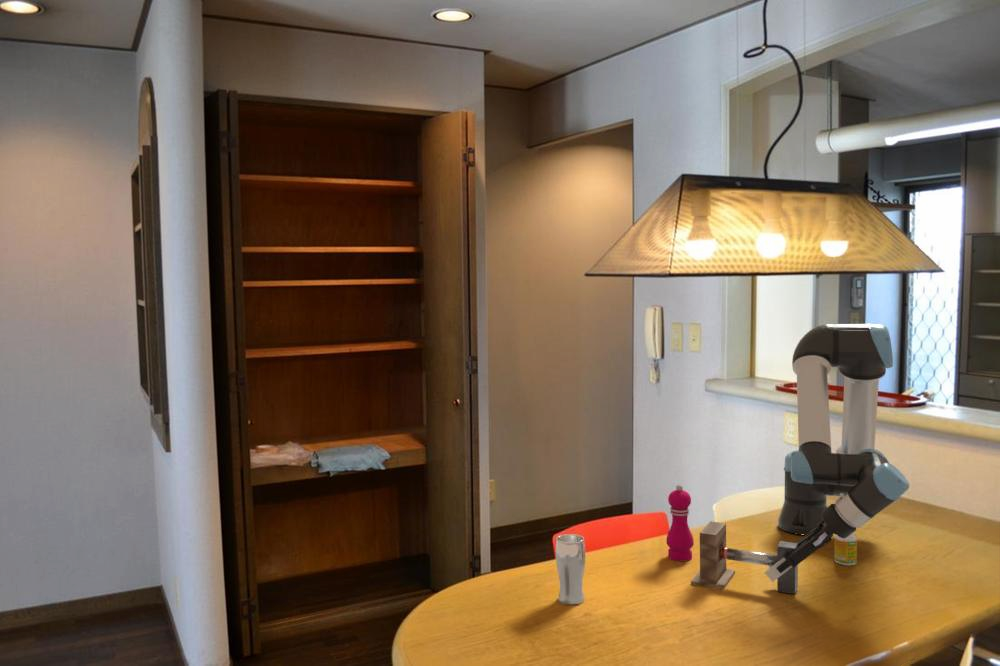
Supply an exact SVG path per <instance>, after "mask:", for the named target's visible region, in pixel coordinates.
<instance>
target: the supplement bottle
mask: <svg viewBox="0 0 1000 666" xmlns="http://www.w3.org/2000/svg"><path fill="white" fill-rule="evenodd" d="M833 539H834V545H833V546H834V552H833V553H834V556H833V557H834V558H833V559H834V562H835V563H837V564H838V563H839V564H838V565H841V564H842V565H843V566H854V565H856V564H857V562H858V537H857V535H856V534H855V531H854V532H853V533H852V534H850V535H849V536H848V537H847V538H841V537H839V536H838V535H836V534H834V538H833ZM842 565H841V566H842Z"/></svg>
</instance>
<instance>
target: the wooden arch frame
mask: <svg viewBox="0 0 1000 666" xmlns="http://www.w3.org/2000/svg"><path fill="white" fill-rule="evenodd" d="M722 547H725V548H727V523H725V522H719V521H712V520H710V521H709V522H708V523H707V524H706V526H704V527H703V529H702V530H701V531H700V532H699V570H698V572H697V573H696V574H695V576H694V577H693V578H692V579H691V580H690V585H693V586H696V587H697V586H698V587H705V588H709V589H715V590H721V591H724V590H725V589H726V587H727V586H728V584H729V583H730V582H731V580H732V578H733V577H734V575H735V574H736V569H732V568H731V569H730V568H727V559H722V558H721V549H722Z"/></svg>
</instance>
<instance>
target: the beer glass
mask: <svg viewBox="0 0 1000 666" xmlns="http://www.w3.org/2000/svg"><path fill="white" fill-rule="evenodd" d="M555 543H556V544H555V563H556V569H557V574H558V580H559V594H558V601H559V602H560V603H561V604H562V603H564V604H563V605H566V604H570V605H569V606H576V605H575V604H578V605H580V603H581V604H583V603H584V602H583V601H585V595H584V591H583V580H584V573H585V568H586V566H585V565H586V546H585V537H584V536H582V535H580V534H576V533H575V534H574V533H565V534H560V535H558V536H556V541H555ZM582 602H583V603H582ZM573 604H574V605H573Z"/></svg>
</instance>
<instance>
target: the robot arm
mask: <svg viewBox="0 0 1000 666" xmlns="http://www.w3.org/2000/svg"><path fill="white" fill-rule="evenodd" d="M891 341H892V340H891V335H890V332H889V328H888V327H887V326H886V325H884V324H877V323H870V322H868V323H838V324H837V323H823V324H820V325H817V326H815V327H813V328H812V329H810V330H809V331H807V332H806V333H805V334H804V335H803V337H802V338H801V339H800V340H799V342H798V343H797V345H796V347H795V349H794V351H793V355H792V361H791V362H792V365H791V366H792V367H791V368H792V371H793V373H794V374H795V375H796V392H797V393H796V395H797V396H796V398H797V430H798V437H797V438H798V449H796V450H793V451H790V452H789V453H787V454H786V456H785V457H784V468H783V471H784V501H783V505H782V507H781V511H780V512H779V516H778V520H777V521H778V522H777V526H779V527H780V528H781V529H783V530H785V531H788V532H792V533H797V534H804V535H805V536H803V537H802V538H800V539H798V541H796V543H798V548H796V549H795V550H794V551H793V552H792V553H790V554H789V555H788V556H786V555H785V554H784V555H783V557H784V558H782V559H781V560H780V561H778V562H777V563H776V564H775V565H773V566H768V567H769V568H768V569H767V570H766V571H765V572H764V574H765V575H766V577H768V578H769V580H770V581H771V582H772V583H774V582H775V581H776V580H777V578H779V577H780V576H781V575H783V574H784V573H785V572H787V571H788V570H789V569H790V568H792V567H793V568H794V567H796V566H797V565H798V566H799V564H800V563H802V562H803V561H805V560H806V559H807V558H809V557H810V556H811V555H813V554H814V553H815V552H816V551H818V550H819V549H821V548H823V547H824V546H825V545H826V544H828V543H829V542H831V540H832V539H833V536H834V535H835V534H836V535H838V536H839V537H841V538H847V537H848V536H849V535H850V534H852V533H853V532H854V533H855V532H856V531H857V528H861V527H863V526H864V525H865V524H867V523H868V522H870V521H871V520H872V519H874V517H875V516H876V515H878V514H879V513H880V512H882V511H883V510H885V509H886V508H887V507H889V506H890V505H891V504H892V503H894V502H895V501H897V500H899V499H900V498H901V497H902V496H903V495H904V494H905V493H906V492H907V491H909V489H910V483H909V481H908V479H906V476H905V475H904V474H903V473H902V471H900V470H899V469H898V468H897V467H896V466H895V465H893V464H891V463H890V461H888V458H887V457H886V455H884V454H883V453H882V452H881V451H880V450H878V449H875V447H876V433H877V432H876V431H877V418H878V417H877V415H878V412H877V411H878V401H879V400H878V398H879V396H878V395H879V386H880V385H879V382H880V379H882V378H883V377H884V376H885V375H886V371H887V369H891V368H892V367H893V365H894V355H893V348H892V342H891ZM832 368H838V372H839V374H840V375H841V376H843V377H844V381H843V403H842V405H843V407H842V425H841V426H842V427H841V428H842V430H841V445H840V446H839V447H838V448H837V449H836V450H835V452H832V440H831V439H832V438H831V436H832V435H831V434H832V433H831V420H830V416H831V415H830V402H829V401H830V400H829V399H830V398H829V383H828V374H829V373H831V370H832ZM827 496H830V497H832V496H833V497H839V498H838V499H837V500H835V502H834V503H831V504H830V505H827ZM779 527H778V528H779ZM780 528H779V529H780ZM781 529H780V530H781ZM783 530H782V531H783ZM785 531H784V532H785ZM788 532H787V533H788ZM854 533H853V534H854Z"/></svg>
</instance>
